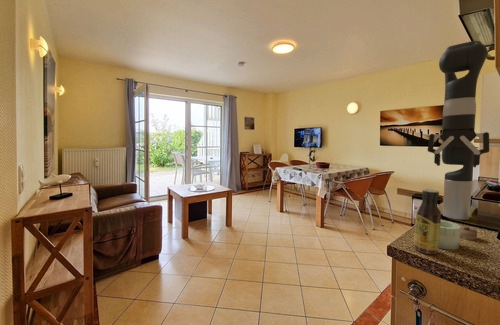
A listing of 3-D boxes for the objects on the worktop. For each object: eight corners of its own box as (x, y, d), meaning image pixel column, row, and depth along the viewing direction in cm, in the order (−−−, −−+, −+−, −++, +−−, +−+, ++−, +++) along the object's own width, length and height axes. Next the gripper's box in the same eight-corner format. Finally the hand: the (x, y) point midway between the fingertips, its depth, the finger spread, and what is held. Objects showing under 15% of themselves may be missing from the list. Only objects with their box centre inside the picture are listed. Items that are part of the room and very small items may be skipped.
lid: (456, 233, 88) (456, 223, 87) (476, 237, 84) (477, 227, 84) (455, 237, 84) (456, 227, 83) (476, 242, 80) (477, 231, 80)
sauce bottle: (409, 246, 77) (411, 188, 75) (428, 246, 77) (431, 188, 75) (423, 256, 70) (426, 192, 69) (444, 256, 70) (448, 192, 69)
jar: (426, 236, 85) (427, 217, 84) (459, 243, 79) (460, 223, 78) (422, 244, 79) (423, 224, 78) (458, 252, 72) (459, 231, 72)
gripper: (491, 112, 69) (487, 166, 70) (431, 117, 79) (428, 164, 80) (492, 110, 64) (488, 169, 65) (428, 115, 73) (425, 166, 75)
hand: (455, 166), depth 73 cm, fingers open, 8 cm apart
